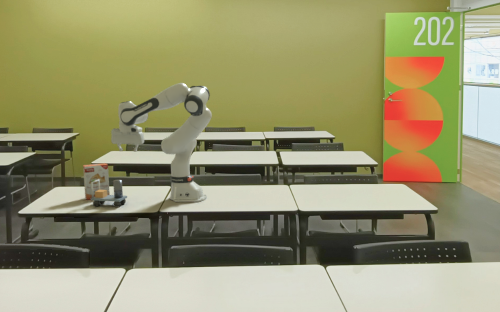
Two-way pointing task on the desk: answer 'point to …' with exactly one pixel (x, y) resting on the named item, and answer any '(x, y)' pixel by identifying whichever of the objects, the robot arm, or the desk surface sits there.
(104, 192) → the orange block
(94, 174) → the cracker box
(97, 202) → the cart
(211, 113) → the robot arm
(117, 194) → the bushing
